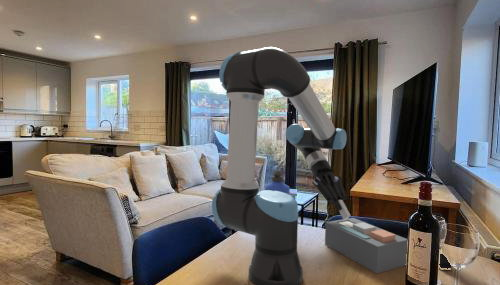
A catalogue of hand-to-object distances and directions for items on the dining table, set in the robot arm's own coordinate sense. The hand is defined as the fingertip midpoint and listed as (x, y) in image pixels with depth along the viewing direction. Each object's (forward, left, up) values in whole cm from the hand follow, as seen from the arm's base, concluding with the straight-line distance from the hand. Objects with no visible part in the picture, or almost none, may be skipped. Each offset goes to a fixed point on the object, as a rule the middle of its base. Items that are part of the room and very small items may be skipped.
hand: (347, 217), depth 106 cm
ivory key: (0, 0, -5) cm, 5 cm away
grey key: (-2, -7, -4) cm, 8 cm away
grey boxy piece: (-2, -7, -10) cm, 13 cm away
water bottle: (-12, +23, -10) cm, 28 cm away
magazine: (+9, -26, -10) cm, 30 cm away
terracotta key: (-4, -15, -4) cm, 16 cm away
